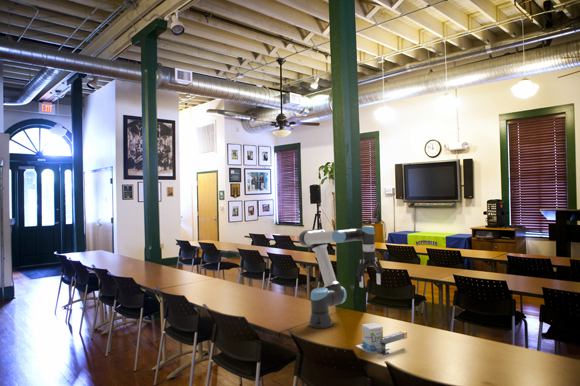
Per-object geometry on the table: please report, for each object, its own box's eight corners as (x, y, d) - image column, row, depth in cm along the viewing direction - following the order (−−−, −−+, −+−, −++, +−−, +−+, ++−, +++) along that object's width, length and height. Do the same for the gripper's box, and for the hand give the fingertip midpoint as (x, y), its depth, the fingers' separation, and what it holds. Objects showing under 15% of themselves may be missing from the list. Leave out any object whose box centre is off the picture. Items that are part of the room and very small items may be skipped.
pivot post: (378, 352, 206) (377, 343, 206) (383, 351, 208) (383, 342, 208) (383, 355, 203) (383, 346, 203) (389, 353, 205) (388, 344, 205)
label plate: (355, 346, 216) (355, 345, 216) (373, 341, 222) (373, 340, 222) (371, 354, 204) (371, 353, 204) (389, 349, 211) (389, 347, 211)
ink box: (369, 350, 208) (369, 328, 208) (362, 345, 216) (361, 324, 216) (383, 348, 211) (382, 326, 211) (375, 342, 219) (374, 322, 219)
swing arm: (383, 345, 203) (383, 339, 204) (379, 343, 206) (379, 337, 206) (407, 338, 213) (407, 332, 213) (403, 336, 216) (403, 330, 216)
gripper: (356, 253, 229) (358, 289, 229) (388, 249, 241) (389, 283, 241) (348, 252, 236) (350, 287, 235) (380, 248, 248) (381, 281, 248)
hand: (370, 285), depth 238 cm, fingers open, 13 cm apart
